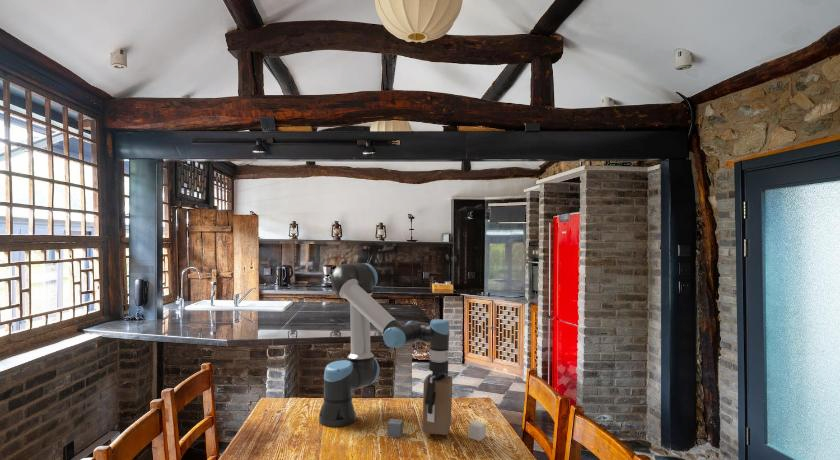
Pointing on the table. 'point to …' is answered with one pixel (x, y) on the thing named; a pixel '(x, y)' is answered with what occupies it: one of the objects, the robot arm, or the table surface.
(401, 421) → the slate cube
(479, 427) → the white cube
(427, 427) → the block
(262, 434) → the table surface
